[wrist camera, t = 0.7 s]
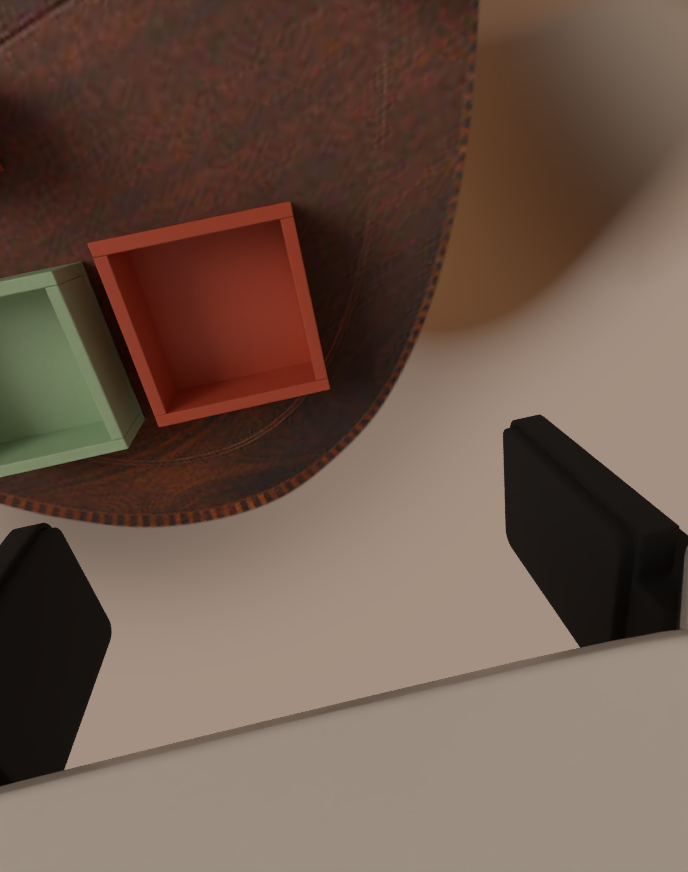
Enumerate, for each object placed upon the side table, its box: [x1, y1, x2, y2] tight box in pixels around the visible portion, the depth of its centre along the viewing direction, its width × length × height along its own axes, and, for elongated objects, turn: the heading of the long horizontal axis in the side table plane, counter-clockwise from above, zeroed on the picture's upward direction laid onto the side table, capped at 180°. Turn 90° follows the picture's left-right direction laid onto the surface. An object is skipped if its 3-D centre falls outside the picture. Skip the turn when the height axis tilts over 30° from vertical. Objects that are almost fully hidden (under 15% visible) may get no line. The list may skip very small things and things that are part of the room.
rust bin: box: [88, 201, 330, 427], centre depth 33 cm, size 12×12×5 cm
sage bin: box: [0, 261, 145, 477], centre depth 33 cm, size 12×12×5 cm
